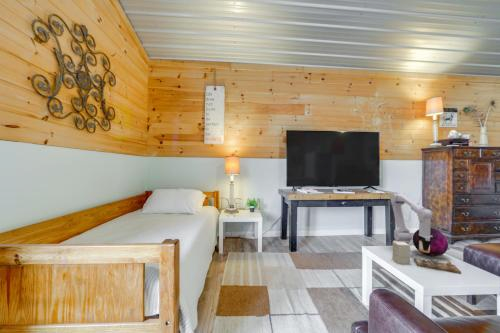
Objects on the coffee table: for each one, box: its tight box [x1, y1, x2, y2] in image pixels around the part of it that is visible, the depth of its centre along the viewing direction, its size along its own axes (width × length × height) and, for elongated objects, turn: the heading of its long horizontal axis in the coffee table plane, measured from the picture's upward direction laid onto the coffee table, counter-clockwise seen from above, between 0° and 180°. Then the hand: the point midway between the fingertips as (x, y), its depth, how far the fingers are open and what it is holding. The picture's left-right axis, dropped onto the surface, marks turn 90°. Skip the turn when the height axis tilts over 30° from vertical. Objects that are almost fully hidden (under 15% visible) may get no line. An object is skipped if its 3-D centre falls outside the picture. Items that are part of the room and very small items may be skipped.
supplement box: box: [391, 240, 411, 265], centre depth 146 cm, size 7×7×13 cm
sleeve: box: [418, 241, 430, 253], centre depth 143 cm, size 5×5×6 cm
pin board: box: [413, 257, 462, 275], centre depth 140 cm, size 21×11×4 cm, turn 64°
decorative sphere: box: [412, 227, 449, 258], centre depth 159 cm, size 20×20×20 cm
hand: (424, 249), depth 143 cm, fingers closed on sleeve, 5 cm apart
